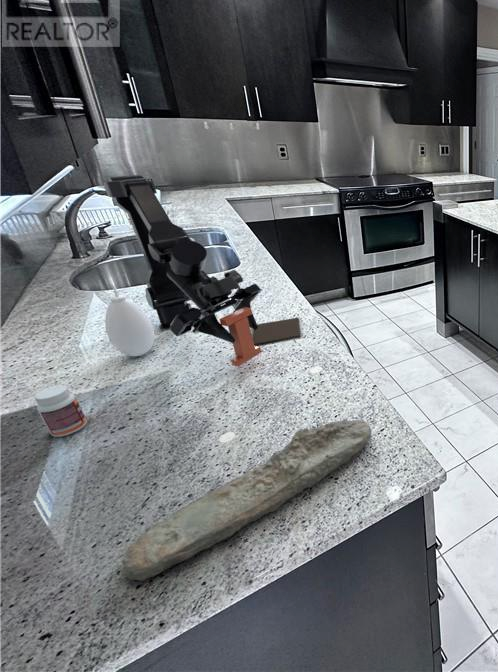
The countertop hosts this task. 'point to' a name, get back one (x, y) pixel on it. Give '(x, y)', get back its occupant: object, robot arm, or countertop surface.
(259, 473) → the long grey stone
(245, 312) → the letter I
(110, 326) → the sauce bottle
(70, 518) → the countertop surface
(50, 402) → the pill bottle
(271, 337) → the dark brown square tile
